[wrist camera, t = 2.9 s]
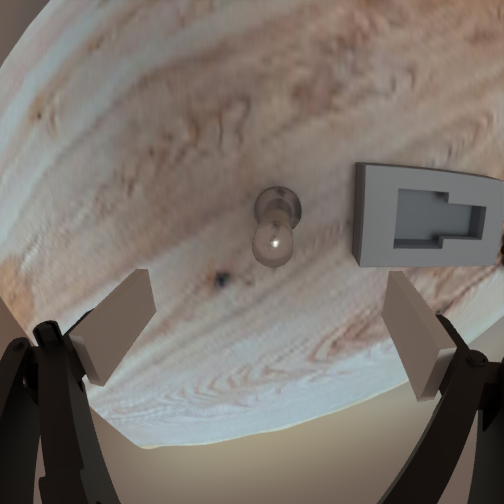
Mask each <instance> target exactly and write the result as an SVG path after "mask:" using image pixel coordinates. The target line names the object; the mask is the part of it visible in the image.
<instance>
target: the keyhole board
mask: <svg viewBox="0 0 504 504" xmlns="http://www.w3.org/2000/svg"><path fill="white" fill-rule="evenodd" d="M503 218H504V181H503V180H499V179H496V178H492V177H489V176H483V175H477V174H470V173H464V172H457V171H449V170H441V169H433V168H424V167H414V166H403V165H391V164H377V163H360V162H356V193H355V216H354V233H353V247H352V254H353V256H354V257H355V259H356V261H357V263H358V265H359V267H441V266H490V265H495V261H496V256H497V252H498V247H499V242H500V236H501V231H502V224H503Z"/></svg>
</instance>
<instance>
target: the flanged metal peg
mask: <svg viewBox="0 0 504 504" xmlns="http://www.w3.org/2000/svg"><path fill="white" fill-rule="evenodd" d="M255 216H256V219H257V222H258V223H259V226H258V229H257V232H256V234H255V237H254V240H253V243H252V251H253V255H254V257H255V258H256V259H257V261H258V262H260V263H261V264H263V265H265V266H268V267H278V266H281V265H283V264H285V263H286V262H287V261H288V260H289V259H290V258H291V256H292V253H293V231H292V229H293V228H295V227H296V225H297V224H298V222H299V220H300V218H301V204H300V201H299V199H298V197H297V195H296V194H295V193H294V192H293V191H291V190H290V189H288V188H285V187H281V186H276V187H271V188H269V189H267V190H265V191H264V192H263V193H262V194H261V195H260V197H259V198H258V200H257V202H256V205H255Z"/></svg>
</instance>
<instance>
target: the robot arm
mask: <svg viewBox="0 0 504 504" xmlns="http://www.w3.org/2000/svg"><path fill="white" fill-rule="evenodd" d="M155 313H156V308H155V303H154V299H153V294H152V289H151V284H150V279H149V273H148V269H136V270H135V271H134V272H133V273H131V274H130V275H129V276H128V277H127V278H126V279H125V280H124V281H123V282H122V283H121V284H120V285H118V286H117V287H116V288H115V289H114V290H113V291H112V292H111V293H110V294H109V295H108V296H107V297H106V298H105V299H104V300H103V301H102V302H101V303H100V304H98V305H97V306H96V307H95V308H93V309H92V310H90V311H88V312H86V313H85V314H84V315H83V316H82V317H81V318H80V319H79V320H78V321H77V322H76V324H74V325H73V326H72V327H71V328H70V329H69V330H68V331H67V332H66V333H65V334H64V335H63V336H62V334H61V331H60V328H59V326H58V323H57V322H56V321H52V320H49V321H45V322H42V323H40V324H38V325H37V326H36V327H35V328H34V329H33V334H34V336H35V339H36V341H37V343H38V345H39V346H33V347H32V346H31V345H30V342H29V340H28V339H27V338H25V337H20V338H16V339H14V340H13V341H12V342H11V343H10V344H9V345H8V346H7V348H6V351H5V353H4V354H3V356H2V358H1V360H0V504H33V495H34V480H35V469H36V460H37V452H38V445H39V438H40V435H41V445H42V452H43V460H44V466H45V473H46V475H45V477H40V479H39V490H40V495H41V500H42V504H121V503H120V501H119V499H118V496H117V494H116V491H115V489H114V487H113V484H112V481H111V478H110V476H109V473H108V470H107V467H106V464H105V461H104V458H103V455H102V452H101V449H100V445H99V442H98V439H97V435H96V432H95V428H94V424H93V420H92V417H91V412H90V409H89V403H88V399H87V394H86V389H85V384H84V382H83V380H82V378H83V376H84V375H85V374H86V375H87V377H88V379H89V381H90V383H92V384H95V385H99V386H104V385H105V383H106V382H107V380H108V379H109V378H110V376H111V375H112V373H113V372H114V370H115V369H116V367H117V366H118V364H119V363H120V362H121V360H122V359H123V357H124V356H125V354H126V353H127V352H128V350H129V349H130V347H131V346H132V345H133V343H134V342H135V340H136V339H137V337H138V336H139V335H140V333H141V332H142V330H143V329H144V328H145V326H146V325H147V324H148V322H149V321H150V319H151V318H152V317H153V315H154V314H155ZM382 318H383V320H384V322H385V324H386V327H387V329H388V331H389V333H390V335H391V338H392V340H393V342H394V344H395V347H396V349H397V351H398V354H399V356H400V358H401V361H402V363H403V366H404V368H405V371H406V373H407V375H408V378H409V380H410V383H411V386H412V388H413V391H414V393H415V395H416V398H417V401H418V402H421V401H428V400H433V399H434V398H435V396H436V394H437V392H438V390H440V393H441V395H442V397H441V399H440V401H439V403H438V405H437V406H436V408H435V410H434V412H433V415H432V417H431V419H430V421H429V423H428V425H427V427H426V429H425V430H424V432H423V434H422V436H421V438H420V440H419V441H418V443H417V445H416V447H415V448H414V450H413V452H412V453H411V455H410V456H409V458H408V460H407V461H406V463H405V465H404V466H403V468H402V469H401V471H400V472H399V474H398V475H397V477H396V478H395V480H394V481H393V483H392V484H391V485H390V487H389V488H388V489H387V491H386V492H385V494H384V495H383V496H382V497H381V499H380V500H379V501H378V503H377V504H437V503H438V501H439V499H440V497H441V495H442V493H443V491H444V490H445V488H446V486H447V484H448V482H449V480H450V477H451V475H452V473H453V471H454V469H455V467H456V464H457V462H458V460H459V457H460V455H461V453H462V450H463V448H464V445H465V443H466V440H467V437H468V435H469V432H470V429H471V426H472V424H473V421H474V417H475V414H476V411H477V410H478V427H477V442H476V453H475V462H474V469H473V476H472V482H471V487H470V493H469V498H468V502H467V504H504V357H503V359H502V362H501V363H500V362H488V359H487V357H486V356H485V355H484V354H483V353H481V352H479V351H476V350H470V349H469V348H468V346H467V345H466V343H465V342H464V340H463V339H462V338H461V336H460V335H459V333H457V331H456V329H455V328H454V326H453V325H452V324H451V322H450V321H449V320H448V319H447V318H445V317H444V316H442V315H441V314H440V315H435V314H434V313H433V311H432V310H431V309H430V307H429V306H428V305H427V303H426V302H425V300H424V299H423V298H422V296H421V295H420V294H419V292H418V291H417V290H416V288H415V287H414V286H413V285H412V283H411V282H410V281H409V279H408V278H407V277H406V276H405V274H404V273H403V272H402V271H389V276H388V283H387V289H386V295H385V300H384V306H383V311H382ZM23 381H24V382H25V384H23Z"/></svg>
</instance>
